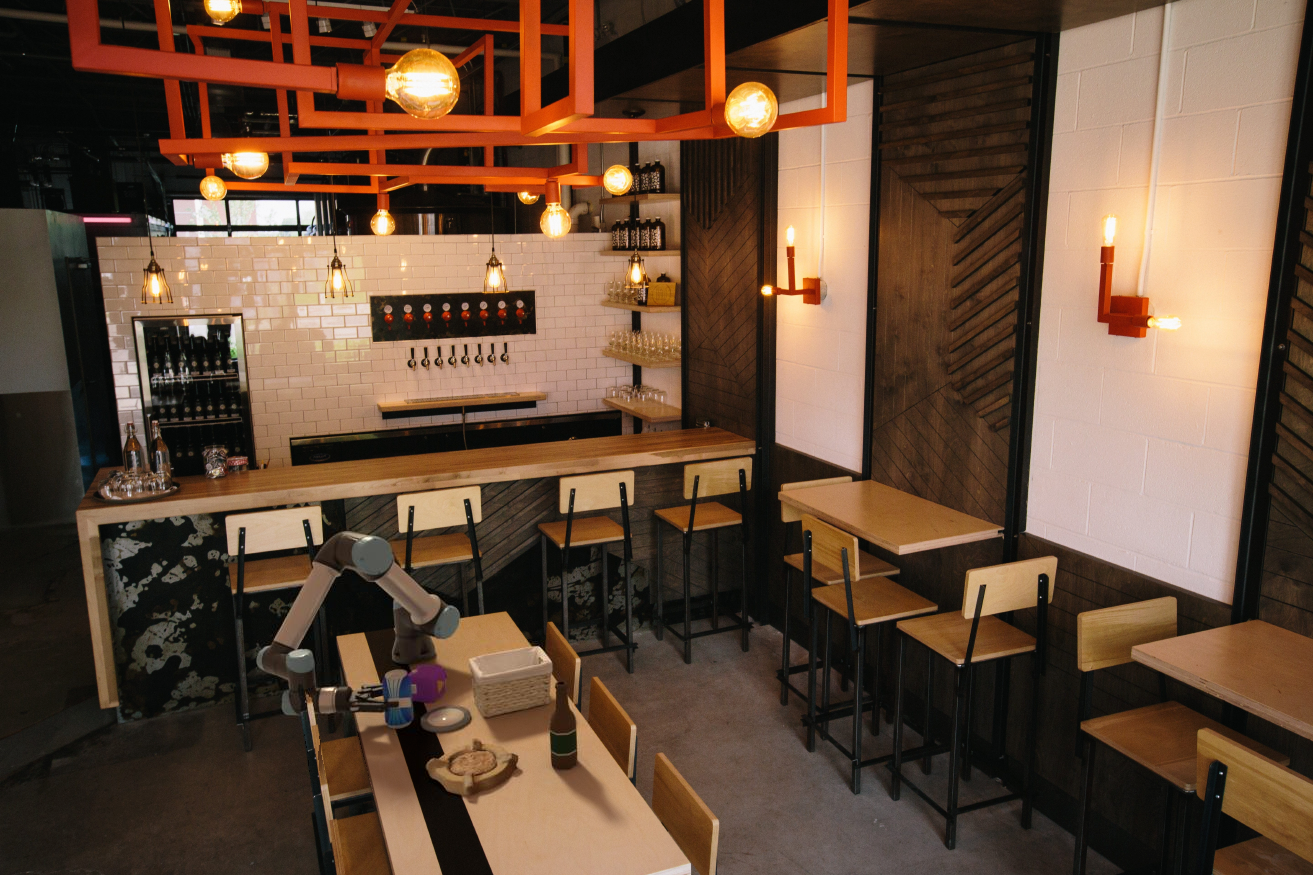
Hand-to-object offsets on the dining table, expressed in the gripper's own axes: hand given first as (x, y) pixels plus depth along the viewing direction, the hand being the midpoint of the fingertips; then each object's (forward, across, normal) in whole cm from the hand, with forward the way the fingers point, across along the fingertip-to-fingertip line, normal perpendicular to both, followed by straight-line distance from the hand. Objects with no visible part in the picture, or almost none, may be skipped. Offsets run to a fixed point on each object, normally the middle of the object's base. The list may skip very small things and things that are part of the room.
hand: (413, 695), depth 266 cm
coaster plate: (+9, 0, -9) cm, 13 cm away
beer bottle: (+46, +29, -9) cm, 55 cm away
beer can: (-5, 0, -9) cm, 10 cm away
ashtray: (+21, +30, -9) cm, 38 cm away
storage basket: (+29, -9, -9) cm, 32 cm away
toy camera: (+1, -18, -9) cm, 20 cm away
